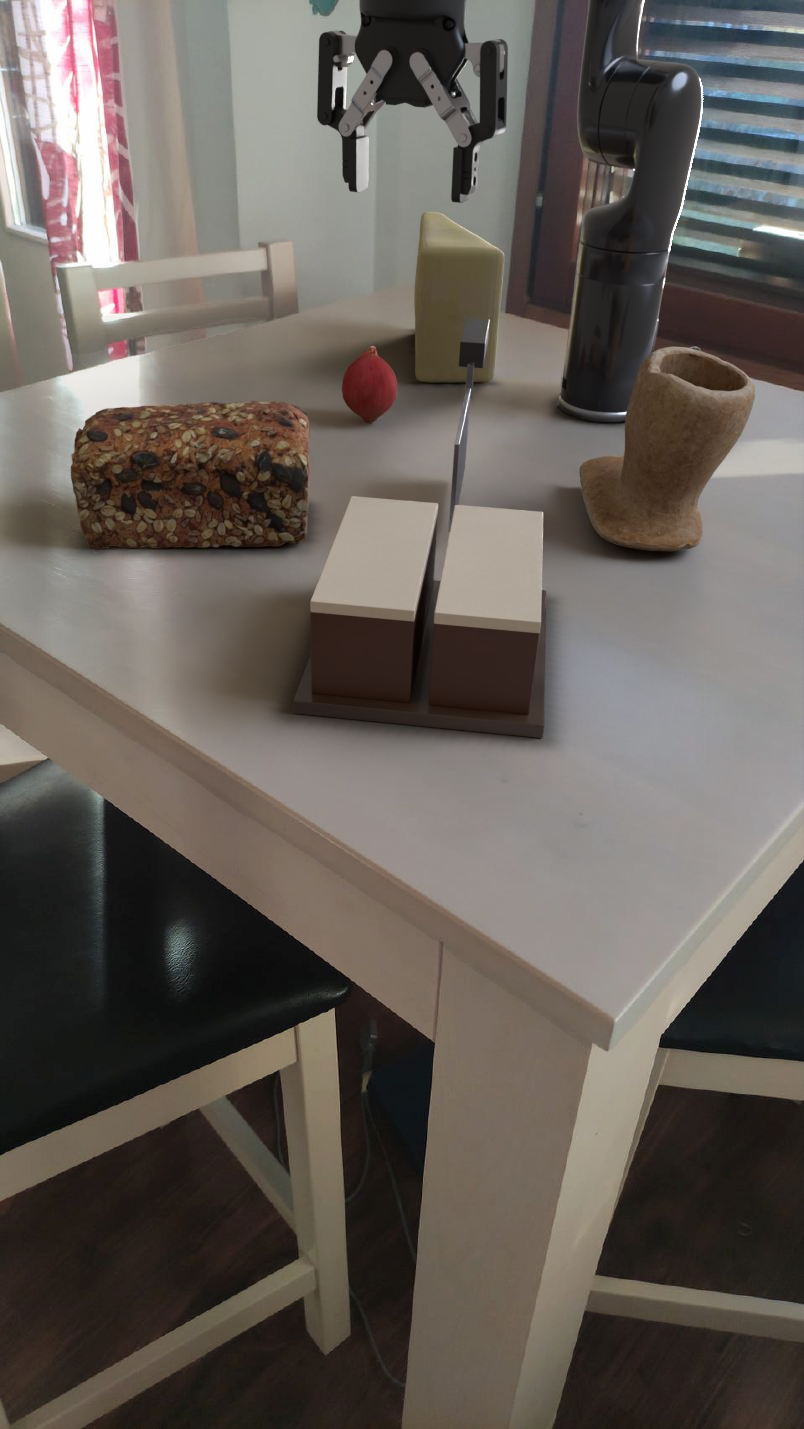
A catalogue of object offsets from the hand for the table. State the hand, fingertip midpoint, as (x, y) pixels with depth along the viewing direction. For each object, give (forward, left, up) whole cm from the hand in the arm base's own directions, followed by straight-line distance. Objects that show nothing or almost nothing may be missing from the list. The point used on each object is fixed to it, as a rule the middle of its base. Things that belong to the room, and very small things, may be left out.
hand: (408, 195), depth 81 cm
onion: (-13, -15, -25) cm, 32 cm away
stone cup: (-12, +19, -25) cm, 34 cm away
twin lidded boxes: (+18, +19, -25) cm, 36 cm away
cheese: (-37, -25, -25) cm, 52 cm away
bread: (+16, -8, -25) cm, 31 cm away
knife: (-5, +3, -24) cm, 24 cm away
